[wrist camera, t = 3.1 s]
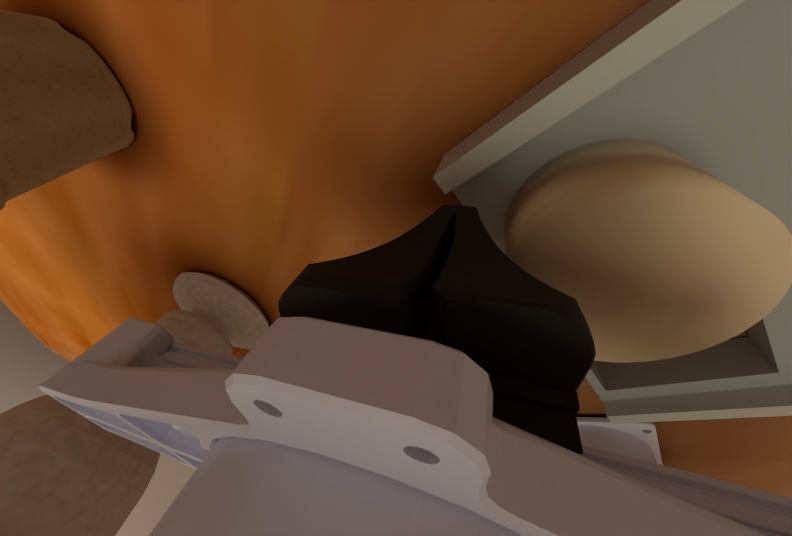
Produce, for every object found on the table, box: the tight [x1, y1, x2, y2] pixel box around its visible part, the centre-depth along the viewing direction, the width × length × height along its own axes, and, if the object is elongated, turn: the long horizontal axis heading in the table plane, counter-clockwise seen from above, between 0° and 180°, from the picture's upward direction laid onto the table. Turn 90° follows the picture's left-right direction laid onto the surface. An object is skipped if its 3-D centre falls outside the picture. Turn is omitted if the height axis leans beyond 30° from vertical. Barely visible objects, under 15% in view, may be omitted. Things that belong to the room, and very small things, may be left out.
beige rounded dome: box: [505, 139, 792, 363], centre depth 9 cm, size 6×6×4 cm
